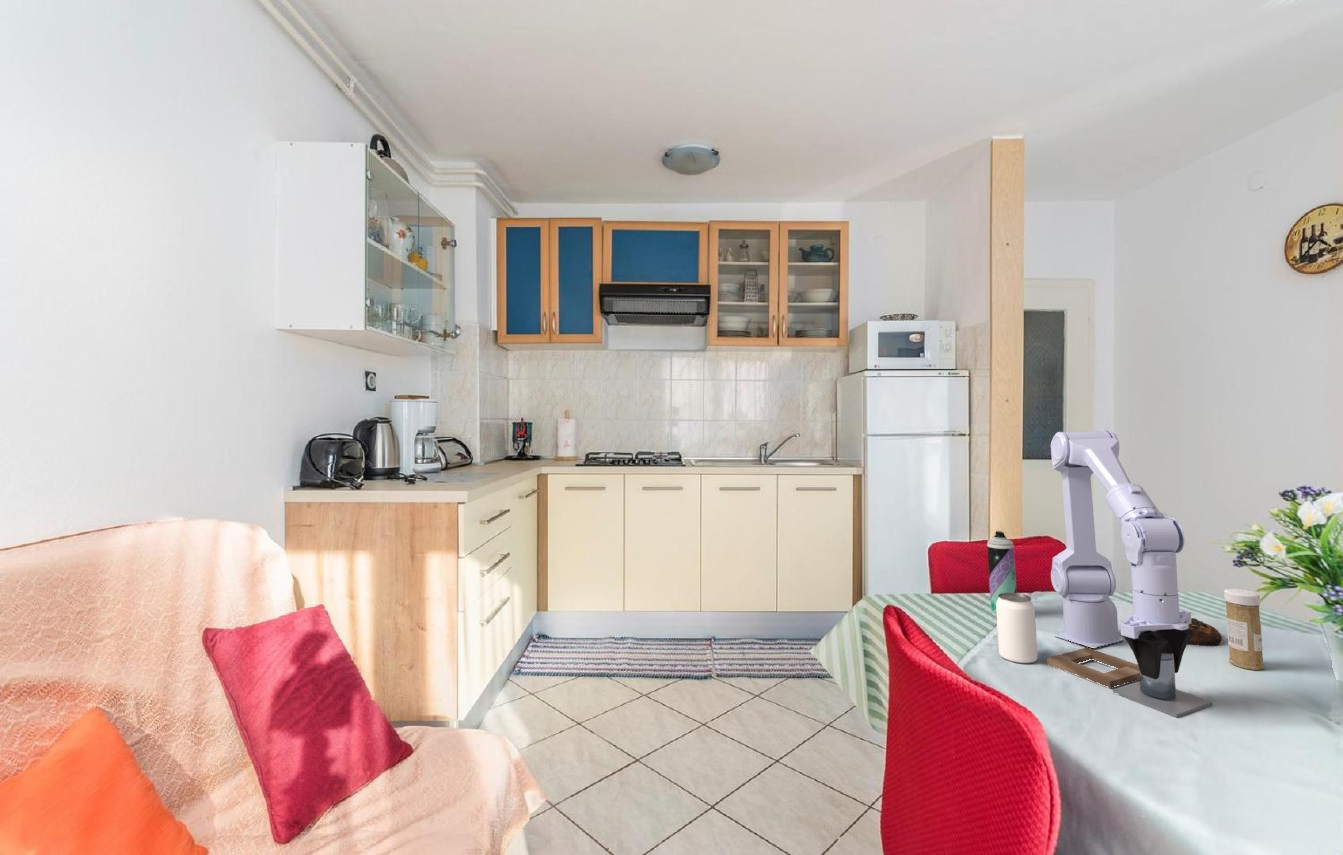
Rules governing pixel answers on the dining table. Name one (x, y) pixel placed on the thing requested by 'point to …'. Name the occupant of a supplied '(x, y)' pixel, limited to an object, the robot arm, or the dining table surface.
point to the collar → (1113, 678)
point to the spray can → (1000, 568)
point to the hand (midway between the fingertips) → (1159, 673)
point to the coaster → (1164, 700)
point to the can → (1016, 628)
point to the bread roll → (1204, 634)
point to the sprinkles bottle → (1244, 628)
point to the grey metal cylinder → (1161, 679)
